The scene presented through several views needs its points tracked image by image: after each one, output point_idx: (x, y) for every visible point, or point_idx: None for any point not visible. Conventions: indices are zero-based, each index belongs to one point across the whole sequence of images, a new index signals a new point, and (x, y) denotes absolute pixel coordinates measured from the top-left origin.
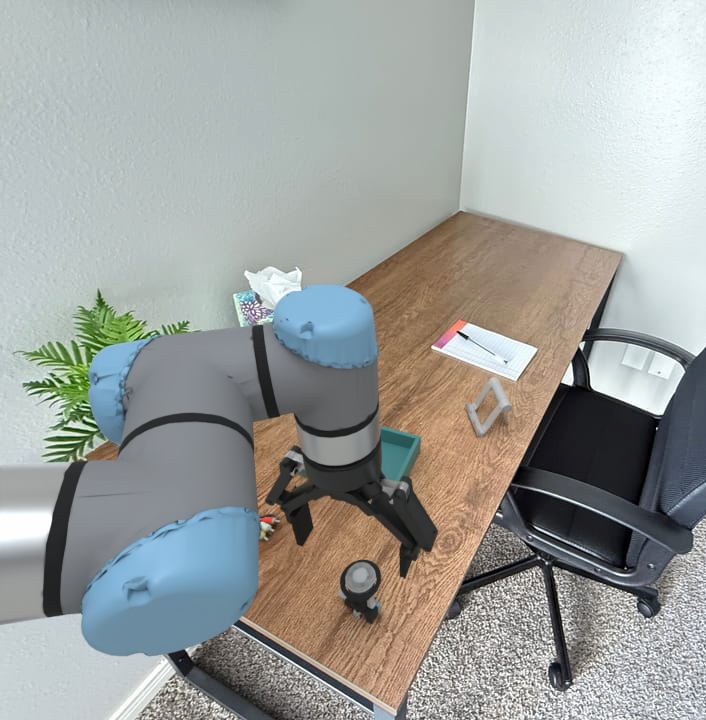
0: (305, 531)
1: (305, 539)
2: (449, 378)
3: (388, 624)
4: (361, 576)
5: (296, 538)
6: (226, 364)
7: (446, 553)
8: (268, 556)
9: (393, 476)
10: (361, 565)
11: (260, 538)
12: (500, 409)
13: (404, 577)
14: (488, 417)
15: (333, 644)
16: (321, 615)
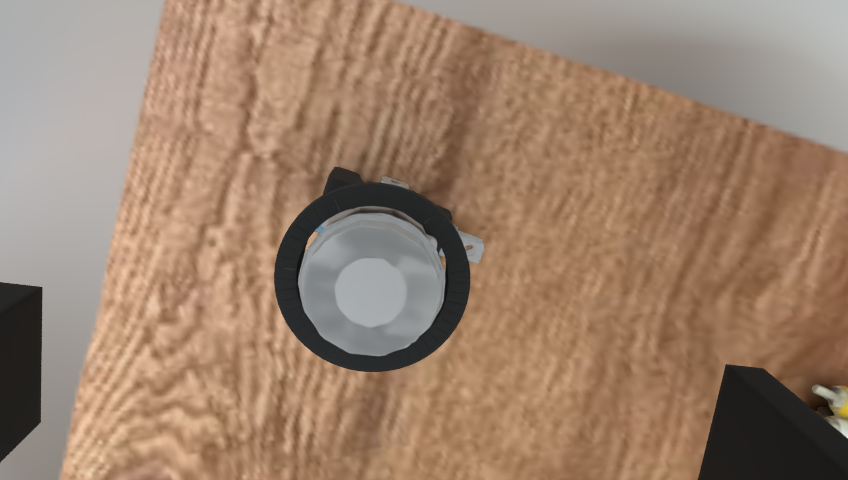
0: (754, 462)
1: (725, 410)
2: None
3: (276, 177)
4: (362, 286)
5: (798, 405)
6: None
7: (140, 456)
8: (783, 333)
9: None
10: (381, 338)
11: (844, 388)
12: None
13: (2, 285)
14: None
15: (448, 80)
16: (524, 167)
